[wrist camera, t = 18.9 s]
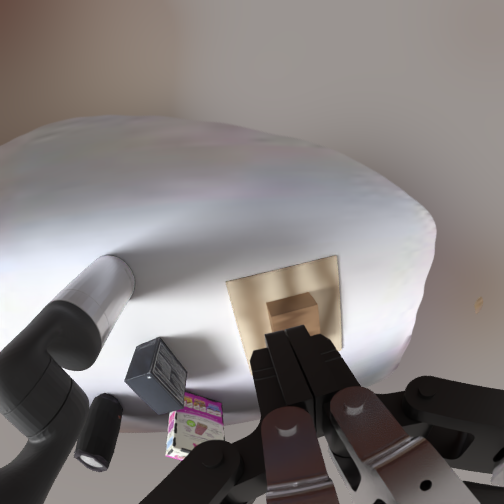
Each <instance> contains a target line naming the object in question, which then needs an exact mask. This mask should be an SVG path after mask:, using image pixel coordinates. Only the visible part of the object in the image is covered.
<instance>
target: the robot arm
mask: <svg viewBox="0 0 504 504" xmlns="http://www.w3.org/2000/svg"><path fill="white" fill-rule="evenodd" d="M134 287H135V279H134V275H133V273H132V271H131V269H130V268H129V266H128V265H127V264H126V263H125V262H124V261H122V260H121V259H120V258H117V257H115V256H110V255H107V256H102V257H99V258H98V259H96V260H95V261H94V262H93V263H91V264H90V265H89V266H88V267H87V268H86V269H85V270H83V271H82V272H81V273H80V274H79V275H78V276H77V277H76V278H75V279H74V280H72V281H71V282H70V283H69V284H68V285H67V286H66V287H65V288H64V289H63V290H62V291H61V292H60V293H59V294H58V295H57V296H56V297H55V298H54V299H53V300H52V301H51V302H50V303H49V304H47V305H46V306H45V308H44V309H43V310H42V311H41V312H40V313H39V314H38V315H37V316H36V317H35V318H34V319H33V320H32V322H31V323H30V324H29V325H28V326H27V327H26V328H25V329H24V330H23V331H22V332H20V333H19V334H18V335H17V336H16V337H15V338H14V339H13V340H12V341H11V342H10V343H9V344H8V345H7V346H6V347H5V348H4V349H3V350H2V351H1V352H0V413H1V414H3V416H4V417H5V418H7V420H8V421H9V422H11V423H12V424H13V425H14V426H15V427H16V428H17V429H18V430H19V431H20V432H21V433H22V434H24V435H25V436H26V437H27V438H28V442H27V444H26V445H25V447H24V448H23V450H22V451H21V452H20V454H19V455H18V456H17V457H16V458H15V459H14V460H13V461H12V462H11V463H9V464H8V465H6V466H4V467H2V468H0V504H43V503H44V501H45V499H46V497H47V495H48V493H49V491H50V489H51V487H52V485H53V483H54V481H55V479H56V477H57V475H58V474H59V472H60V470H61V468H62V466H63V465H64V463H65V461H66V459H67V457H68V456H69V454H70V452H71V450H72V448H73V447H74V445H75V443H76V441H77V439H78V437H79V435H80V433H81V431H82V429H83V427H84V424H85V422H86V419H87V416H88V412H89V400H88V397H87V395H86V394H85V392H84V391H83V390H82V389H81V388H80V387H79V386H78V384H77V383H76V382H75V381H74V380H73V379H72V378H71V377H70V376H69V375H68V374H67V373H66V372H65V371H64V370H63V369H62V368H65V369H68V370H72V371H82V370H86V369H88V368H89V367H91V366H92V365H93V364H94V362H95V361H96V359H97V357H98V355H99V353H100V351H101V349H102V347H103V345H104V343H105V342H106V340H107V338H108V336H109V334H110V332H111V330H112V329H113V327H114V325H115V323H116V321H117V320H118V318H119V316H120V314H121V313H122V311H123V309H124V307H125V306H126V304H127V302H128V301H129V299H130V297H131V295H132V294H133V291H134ZM264 337H265V342H266V348H262V349H258V350H253V353H252V356H251V358H250V365H251V370H252V375H253V379H254V384H255V389H256V393H257V398H258V403H259V407H260V412H261V420H260V423H259V425H258V427H257V428H256V430H254V431H253V433H251V434H250V435H248V436H247V437H245V438H243V439H241V440H238V441H236V442H234V443H232V444H231V443H229V442H227V441H224V440H208V441H205V442H202V443H200V444H198V445H197V446H196V447H194V448H193V449H192V450H191V452H190V453H189V454H188V455H187V456H186V457H185V458H184V459H183V460H182V461H181V462H180V463H179V464H178V466H176V468H175V469H174V470H173V471H172V472H171V473H170V474H169V475H168V476H167V477H166V478H165V479H164V480H163V481H162V482H161V483H160V484H159V485H158V486H157V487H156V488H155V489H154V490H153V491H151V492H150V493H149V494H148V495H147V497H145V498H144V499H143V500H142V501H141V502H140V503H139V504H252V503H253V502H254V501H255V499H256V498H257V497H259V496H261V495H263V494H265V493H266V502H267V504H339V500H338V497H337V493H336V490H335V487H334V484H333V482H332V480H331V479H330V478H329V476H328V473H327V470H326V467H325V463H324V459H323V456H322V452H321V448H320V445H319V442H318V438H319V437H322V436H325V438H326V440H327V442H328V452H329V455H330V457H331V459H332V461H333V463H334V465H335V466H336V468H337V470H338V472H339V474H340V476H341V477H342V479H343V481H344V483H345V485H346V487H347V489H348V490H349V492H350V495H351V498H352V503H353V504H504V390H500V389H494V388H487V387H482V386H476V385H471V384H466V383H461V382H456V381H451V380H446V379H442V378H437V377H433V376H421V377H418V378H415V379H414V380H412V381H411V382H410V383H409V384H408V385H407V387H406V389H405V391H401V392H396V393H389V394H375V393H374V392H373V391H371V390H369V389H368V388H365V387H361V386H360V384H359V383H358V381H357V380H356V378H355V377H354V375H353V373H352V372H351V370H350V369H349V367H348V366H347V364H346V363H345V361H344V360H343V358H341V355H340V353H339V352H338V350H336V347H335V346H334V344H333V343H332V341H331V340H330V339H329V338H327V337H325V336H324V335H322V334H316V335H313V336H310V334H309V332H308V331H307V329H306V327H305V326H304V325H299V326H296V327H292V328H288V329H285V330H280V331H276V332H272V333H267V334H264ZM61 367H62V368H61ZM451 467H452V468H457V469H463V470H468V471H474V472H482V473H489V474H493V476H492V478H491V484H492V485H486V484H479V483H474V482H469V481H462V480H461V479H460V478H459V477H458V476H457V475H456V473H455V472H454V471H453V470H452V468H451ZM498 485H499V486H498ZM500 486H501V487H500Z"/></svg>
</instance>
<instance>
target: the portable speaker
mask: <svg viewBox="0 0 504 504" xmlns="http://www.w3.org/2000/svg"><path fill="white" fill-rule="evenodd" d="M122 412H123V409H122V407H121V406H120V404H119V403H118V400H117V399H116V398H114V397H113V396H111V395H108V394H104V393H103V394H102V395H100V396H97V397H95V398H94V400H93V402H92V404H91V406H90V408H89V412H88V416H87V419H86V422H85V424H84V427H83V429H82V431H81V433H80V435H79V437H78V440H77V445H76V450H75V452H74V453H75V455H74V458H76V459H78V460H79V461H80V462H81V463H82V464H84V465H85V466H86V467H87V468H89V469H91V470H93V471H98V472H102V471H106V470H107V469H108V467H109V464H110V461H111V458H112V456H113V453H114V449H115V445H116V441H117V437H118V434H119V430H120V424H121V418H122Z"/></svg>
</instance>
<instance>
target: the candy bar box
mask: <svg viewBox="0 0 504 504" xmlns="http://www.w3.org/2000/svg"><path fill="white" fill-rule="evenodd" d="M208 440H224V441H225V437H224V424H223V410H222V403H220V402H216V401H213V400H210V399H207V398H204V397H201V396H198V395H195V394H192V393H189V392H186V391H185V396H184V409H180V410H177V411H173V412H169V422H168V432H167V444H166V456H167V457H171V458H174V459H178V460H183V459H184V458H185V457H186V456H187V455H188V454H189V453H190V452H191V450H192V449H193V448H194V447H196V446H197V445H198V444H200V443H202V442H205V441H208Z"/></svg>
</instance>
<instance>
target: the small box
mask: <svg viewBox="0 0 504 504" xmlns="http://www.w3.org/2000/svg"><path fill="white" fill-rule="evenodd" d="M186 377H187V371H186V370H185V369H184V368H183V366H182V365H181V364H180V363H179V361H178V360H177V359H176V358H175V356H174V355H173V354H172V353H171V351H170V350H169V349H168V347H167V346H166V345H165V343H164V342H163V341H162V340H161V338H159V337H158V338H156V339H154V340H151V341H149V342H146V343H144V344H141V345H139V346H137V347H136V350H135V352H134V355H133V358H132V361H131V363H130V366H129V369H128V372H127V375H126V378H125V380H124V382H125V383H126V384H127V385H128V386H129V387H130V388H131V389H132V390H133V391H134V392H135V393H136V394H137V395H138V396H139V397H140V398H141V399H142V400H143V401H144V402H145V403H146V404H147V405H148V406H149V407H150V408H152V409H153V410H154V411H155V412H156V413H157V414H158V415H161V414H165V413H169V412H173V411H177V410H180V409H184V396H185V386H186Z"/></svg>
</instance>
